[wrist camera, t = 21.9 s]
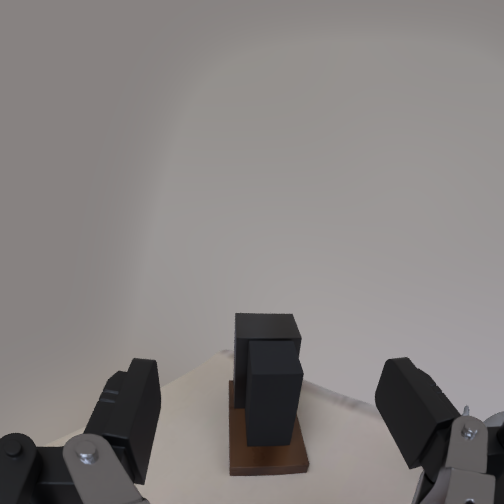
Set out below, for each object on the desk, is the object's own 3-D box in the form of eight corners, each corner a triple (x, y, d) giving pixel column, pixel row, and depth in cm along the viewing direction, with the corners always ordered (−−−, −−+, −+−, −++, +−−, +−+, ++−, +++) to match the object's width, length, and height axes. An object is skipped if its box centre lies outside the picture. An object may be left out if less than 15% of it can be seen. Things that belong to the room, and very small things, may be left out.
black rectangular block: (246, 446, 26) (252, 374, 23) (244, 411, 30) (248, 340, 28) (290, 445, 26) (303, 373, 23) (283, 411, 31) (293, 340, 28)
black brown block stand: (229, 475, 23) (230, 395, 21) (228, 389, 36) (230, 312, 33) (306, 472, 24) (329, 392, 21) (287, 389, 36) (297, 313, 33)
